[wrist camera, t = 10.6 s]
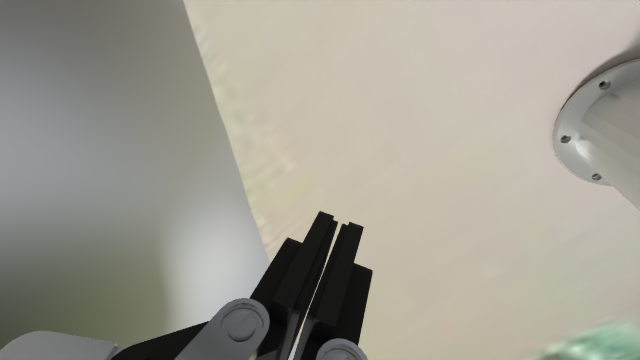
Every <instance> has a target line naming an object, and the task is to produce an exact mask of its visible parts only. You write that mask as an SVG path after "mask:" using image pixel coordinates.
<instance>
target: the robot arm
mask: <svg viewBox="0 0 640 360" xmlns="http://www.w3.org/2000/svg"><path fill="white" fill-rule="evenodd" d="M602 81H603V84H602V85H600V86H599V84H600V83H601V82H602ZM563 136H565V137H564V138H561V137H563ZM553 146H554V149H555V152H556V155H557V157H558V158H559V160H560V161H561V163H562V164H563V165H564V166H565V167H566V168H567V169H568V170H569V171H570V172H571V173H573V174H574V175H575V176H577V177H579V178H581V179H583V180H585V181H587V182H591V183H595V184H598V185H604V186H613V187H614V188H615V189H616V190H617V191H618V192H620V193H621V194H622V195H623V196H624V197H625V198H626V199H627V200H628V201H630V202H631V203H632V204H633V205H634V206H635V207H636V208H637V209H638V210H640V58H639V59H635V60H632V61H628V62H625V63H622V64H620V65H617V66H615V67H613V68H611V69H608V70H606V71H605V72H603V73H601V74H599V75H598V76H596V77H594V78H593V79H591V80H590V81H589V82H587V83H586V84H585V85H584V86H582V87H581V88H580V89H579V90H578V91H577V92H576V93H575V94H574V95H573V96H572V97H571V98H570V99H569V100H568V101H567V103H566V104H565V106H564V107H563V109H562V110H561V112H560V114H559V116H558V118H557V120H556V123H555V127H554V131H553ZM333 218H334V216H332V215H330V214H327V213H324V212H321V211H320V212H319V213H318V215H317V217H316V219H315V221H314V222H313V224H312V226H311V228H310V230H309V232H308V234H307V236H306V237H305V239H304V241H303V243H301V242H298V241H296V240H293V239H291V238H287V239H286V240H285V241H284V243H283V245H282V246H281V248H280V250H279V251H278V253H277V254H276V256H275V258H274V259H273V261H272V262H271V264H270V266H269V267H268V269H267V271H266V272H265V274H264V275H263V277H262V279H261V280H260V282H259V284H258V285H257V287H256V288H255V290H254V292H253V293H252V295H251V297H250V298H249V299H247V298H241V299H236V300H233V301H231V302H229V303H227V304H226V305H225V306H223V307H222V308H221V309H220V310H219V312H218V313H217V314H216V315H215V316H214V317H213V318H212V319H211V320H210V321H207V322H204V323H201V324H198V325H195V326H192V327H189V328H185V329H182V330H179V331H176V332H173V333H170V334H167V335H163V336H160V337H157V338H154V339H151V340H148V341H144V342H141V343H138V344H135V345H132V346H130V347H128V348H126V347H120V346H117V344H116V343H115V342H109V341H103V340H97V339H92V338H86V337H79V336H74V335H68V334H62V333H56V332H50V331H35V332H32V333H28V334H25V335H22V336H20V337H19V338H17V339H15V340H13V341H11V342H10V343H9V344H7V345H6V346H5V347H4V348H3V349H1V350H0V360H288V358H289V356H290V353H291V351H292V348H293V345H294V343H295V341H296V338H297V336H298V333H299V331H300V328H301V325H302V323H303V320H304V318H305V315H306V313H307V310H308V308H309V305H310V303H311V300H312V298H313V295H314V293H315V295H314V298H313V300H312V303H311V305H310V308H309V311H308V313H307V316H306V319H305V322H304V326H303V329H302V332H301V335H300V339H299V342H298V345H297V348H296V352H295V355H294V358H293V360H368V359H367V357H366V355H365V354H364V353H363V351H362V350H361V348H359V347H358V343H359V338H360V333H361V328H362V323H363V318H364V313H365V308H366V303H367V298H368V293H369V288H370V283H371V278H372V270H371V269H368V268H366V267H363V266H360V265H358V264H355V263H354V260H355V256H356V253H357V249H358V246H359V242H360V239H361V235H362V232H363V228H364V227H362V226H360V225H357V224H354V223H352V222H349V224H348V225H345V224H342V226H341V229H340V231H339V234H338V236H337V239H336V241H335V244H334V246H333V249H332V252H331V254H330V257H329V259H328V262H327V264H326V267H325V269H324V265H325V262H326V259H327V256H328V253H329V250H330V246H331V243H332V240H333V237H334V234H335V230H336V227H337V224H338V222H337V221H334V220H333ZM323 269H324V272H323ZM322 272H323V275H322ZM321 275H322V277H321ZM320 277H321V280H320ZM319 280H320V282H319ZM318 282H319V285H318ZM317 285H318V287H317ZM316 287H317V290H316ZM315 290H316V292H315Z"/></svg>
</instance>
